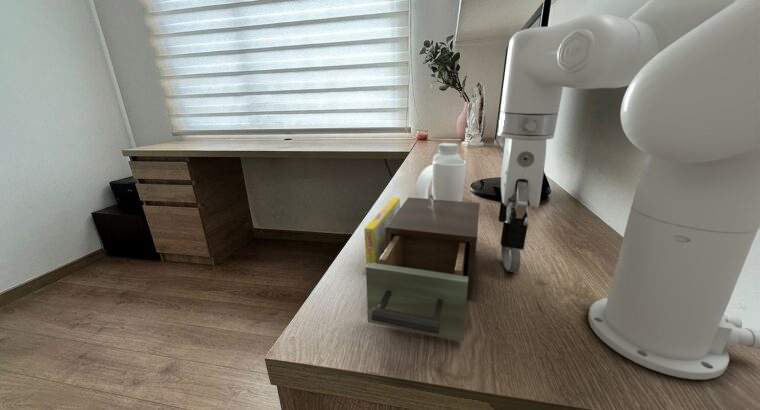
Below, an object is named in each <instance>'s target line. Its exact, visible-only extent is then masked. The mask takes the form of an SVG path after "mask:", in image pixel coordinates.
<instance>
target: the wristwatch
mask: <svg viewBox="0 0 760 410" xmlns="http://www.w3.org/2000/svg"><path fill="white" fill-rule="evenodd" d="M524 250H525V247H524V248H523V249H516V248H509V247H502V246H501V261H502V265H503V268H504V269H505V271H506V272H508V273H518V272H519V271H520V269H521V252H520V251H524ZM510 251H511V252H510ZM510 254H511V255H510Z"/></svg>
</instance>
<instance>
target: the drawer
mask: <svg viewBox="0 0 760 410" xmlns="http://www.w3.org/2000/svg"><path fill="white" fill-rule="evenodd" d="M465 255H466V242H462V241H454V240H445V239H436V238H427V237H418V236H410V235H401V234H396V235H395V236H394V238H393V239H392V241H391V242H390V244H389V246H388V247H387V249H386V250H385V252H384V253H383V255H382V256H381V258H380V259H379V264H377V263H370V262H369V264H368V265H367V264H366V266H365V276H366V277H365V278H366V279H365V280H366V302H367V303H366V304H367V323H368V324H369V323H370V324H374V325H379V326H384V327H389V328H394V329H398V330H403V331H404V330H405V331H409V332H413V333H419V334H423V335H427V336H428V335H429V336H432V337H438V338H442V339H448V340H451V341H458V342H464V335H465V323H466V313H467V300H468V299H467V289H468V277H467V276H464V268H465Z"/></svg>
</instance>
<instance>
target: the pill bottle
mask: <svg viewBox="0 0 760 410" xmlns="http://www.w3.org/2000/svg"><path fill="white" fill-rule="evenodd" d="M437 147H438V148H437V149H438V150H437V152H438V153H436V154H434V155H433V157H432V163H433V162H434V161H435V160H437V159H460V160H463V159H462V156H461V154H459V153H458V151H459V144H457V143H450V142H442V143H439V144H438V145H437ZM431 197H433V183H432V182H431Z"/></svg>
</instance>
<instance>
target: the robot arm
mask: <svg viewBox="0 0 760 410" xmlns="http://www.w3.org/2000/svg"><path fill="white" fill-rule="evenodd" d="M623 87H627V89H626V91H625V93H624V95H623V97H622V98H623V99H622V101H621V105H620V115H619V117H620V123H621V128H622V130H623V133H624V134H625V136H626V138H627V139H628V140H629V142H630V143H631V144H632V145H633V146H634V147H635V148H637V149H638V150H640V151H641V152H643V153H644V154H647V157H646V159H645V162H644V164H643V167H642V169H641V172H640V175H639V179H638V183H637V185H636V189H635V192H634V196H633V199H632V204H631V206H630V209H629V210H630V211H629V215H628V218H627V222H626V225H625V229H624V233H623V238H622V240H621V245H620V250H619V252H618V257H617V261H616V264H615V269H614V273H613V276H612V279H611V284H610V288H609V291H608V296H607V297H604V298H601V299H598V300H596V301H594V302H593V303H592V304H591V306H590V307H589V310H588V314H587V321H588V323H589V326H590V328H591V330H593V332H594V333H595V335H596V336H597V337H598V338H599V339H600V340H601V341H602V342H603V343H605V344H606V345H607V346H608V347H609V348H610V349H612V350H613V351H615V352H616V353H618V354H620V355H621V356H622V357H624V358H626V359H628V360H629V361H632V362H633V363H635V364H638V365H640V366H643V367H644V368H646V369H649V370H652V371H654V372H658V373H660V374H664V375H667V376H672V377H675V378H681V379H687V380H688V379H689V380H703V381H704V380H711V379H715V378H719V377H720V376H722V375H724V373H725V371H726V370H727V368H728V365H729V362H730V356H729V352H728V350H727V348H726V347H730V348H734V347H736V346H738V345H739V346H744V347H745V346H746V347H748V348H753V349H754V348H755V349H759V350H760V329H756V328H752V327H751V328H750V327H743V321H742V319H741V318H740V317H738V316H734V315H728V314H725V312H726V310H727V309H728V308H727V307H728V305H729V303H730V300H731V298H732V295H733V293H734V290H735V289H736V285H737V283H738V281H739V278H740V275H741V273H742V270H743V269H744V268H743V267H744V265H745V264H746V261H747V258H748V255H749V253H750V251H751V248H752V245H753V243H754V240H755V239H756V235H757V233H758V230H760V0H649V1H647V2H646V3H645V4H644V5H642V6H641V7H640V8H639V9H637V11H635V12H634V13H633V14H632V15H631V16H629V17H628V18H625V17H622V16H616V15H612V14H608V13H591V14H587V15H583V16H580V17H576V18H573V19H570V20H568V21H564V22H562V23H558V24H556V25H552V26H538V27H536V26H535V27H530V28H524V29H521V30H519V31H517V32H515V33H514V34H513V35H512V36H511V38H510V40H509V42H508V48H507V55H506V63H505V72H504V79H503V87H502V94H501V95H502V96H501V104H500V112H499V120H498V129H497V136H498V137H501V138H505V139H504V147H503V154H502V162H501V174H500V195H501V199H500V205H499V213H498V222H500V223H502V230H501V235H500V236H501V237H500V247H501V248H502V247H509V248H516V249H523V248H524V249H525V243H526V237H527V231H528V226H529V223H528V221H529V207H530V208H532V209H533V210H537V208H539V206H540V202H541V195H542V194H541V193H542V186H543V180H544V171H545V164H546V155H547V140H552V139H554V137H555V132H556V128H557V123H558V118H559V117H558V116H559V111H560V105H561V100H562V95H563V90H564V88H570V89H580V90H581V89H582V90H585V89H586V90H589V89H590V90H593V89H594V90H595V89H618V88H619V89H620V88H623Z"/></svg>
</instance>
